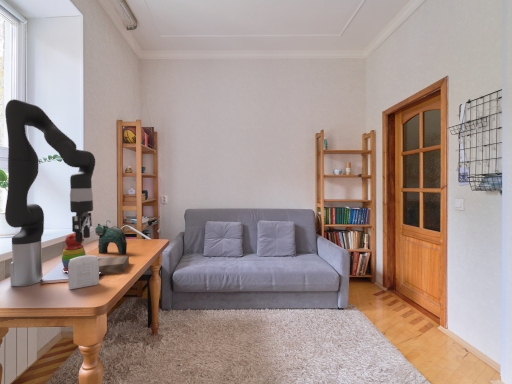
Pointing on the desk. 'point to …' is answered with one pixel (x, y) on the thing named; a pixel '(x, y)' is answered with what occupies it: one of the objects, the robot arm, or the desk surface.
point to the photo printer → (83, 271)
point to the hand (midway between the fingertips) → (83, 239)
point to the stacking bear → (72, 250)
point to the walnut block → (113, 264)
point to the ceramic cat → (111, 238)
